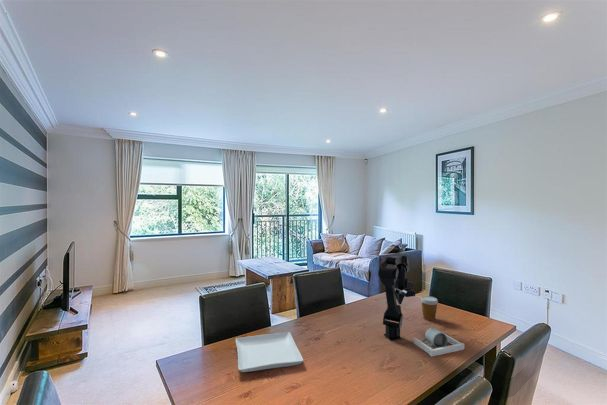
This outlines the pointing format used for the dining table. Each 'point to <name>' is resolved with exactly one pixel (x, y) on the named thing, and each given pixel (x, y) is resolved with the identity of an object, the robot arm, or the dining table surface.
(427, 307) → the disposable coffee cup
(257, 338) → the square plate
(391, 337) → the robot arm
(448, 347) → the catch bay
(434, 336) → the ceramic mug
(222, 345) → the dining table surface
